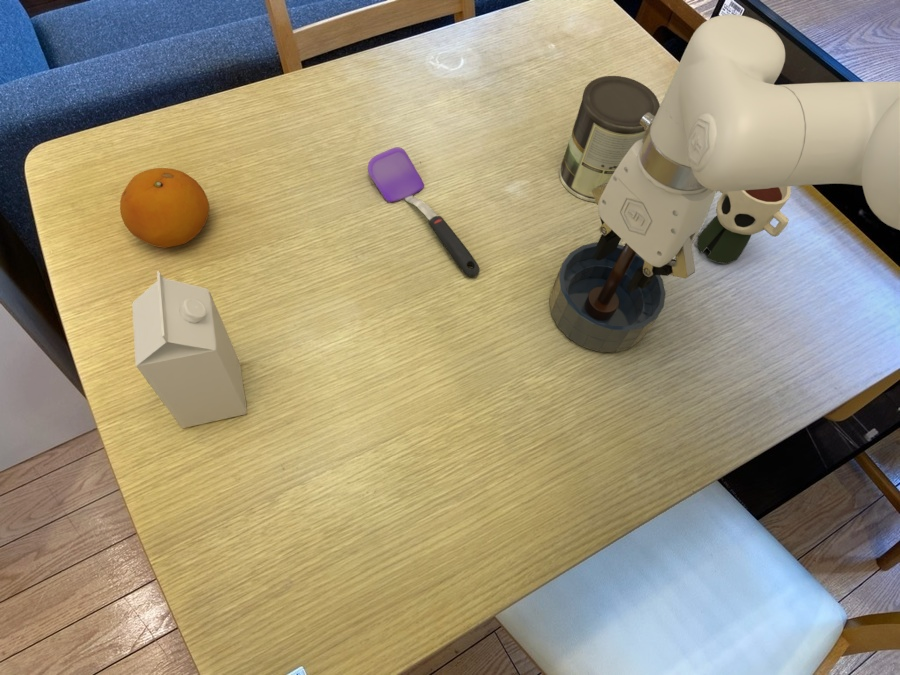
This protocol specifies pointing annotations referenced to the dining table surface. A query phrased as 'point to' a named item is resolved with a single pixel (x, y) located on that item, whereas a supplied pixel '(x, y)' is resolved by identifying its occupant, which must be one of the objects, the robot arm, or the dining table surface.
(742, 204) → the character mug
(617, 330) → the bowl
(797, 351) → the dining table surface
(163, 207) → the fruit
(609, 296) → the brown wooden pestle
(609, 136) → the coffee can
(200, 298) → the milk carton
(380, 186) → the spatula
